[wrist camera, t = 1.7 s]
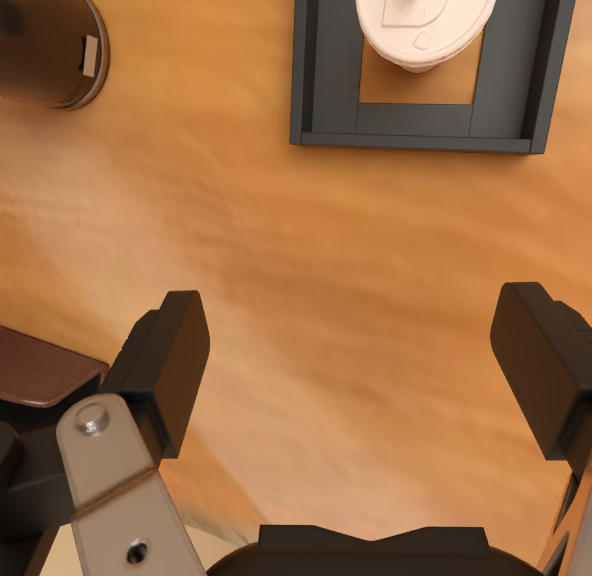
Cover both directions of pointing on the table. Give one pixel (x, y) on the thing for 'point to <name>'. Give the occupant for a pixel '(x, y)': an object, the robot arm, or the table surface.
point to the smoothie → (421, 29)
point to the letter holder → (42, 381)
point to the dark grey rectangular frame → (430, 117)
